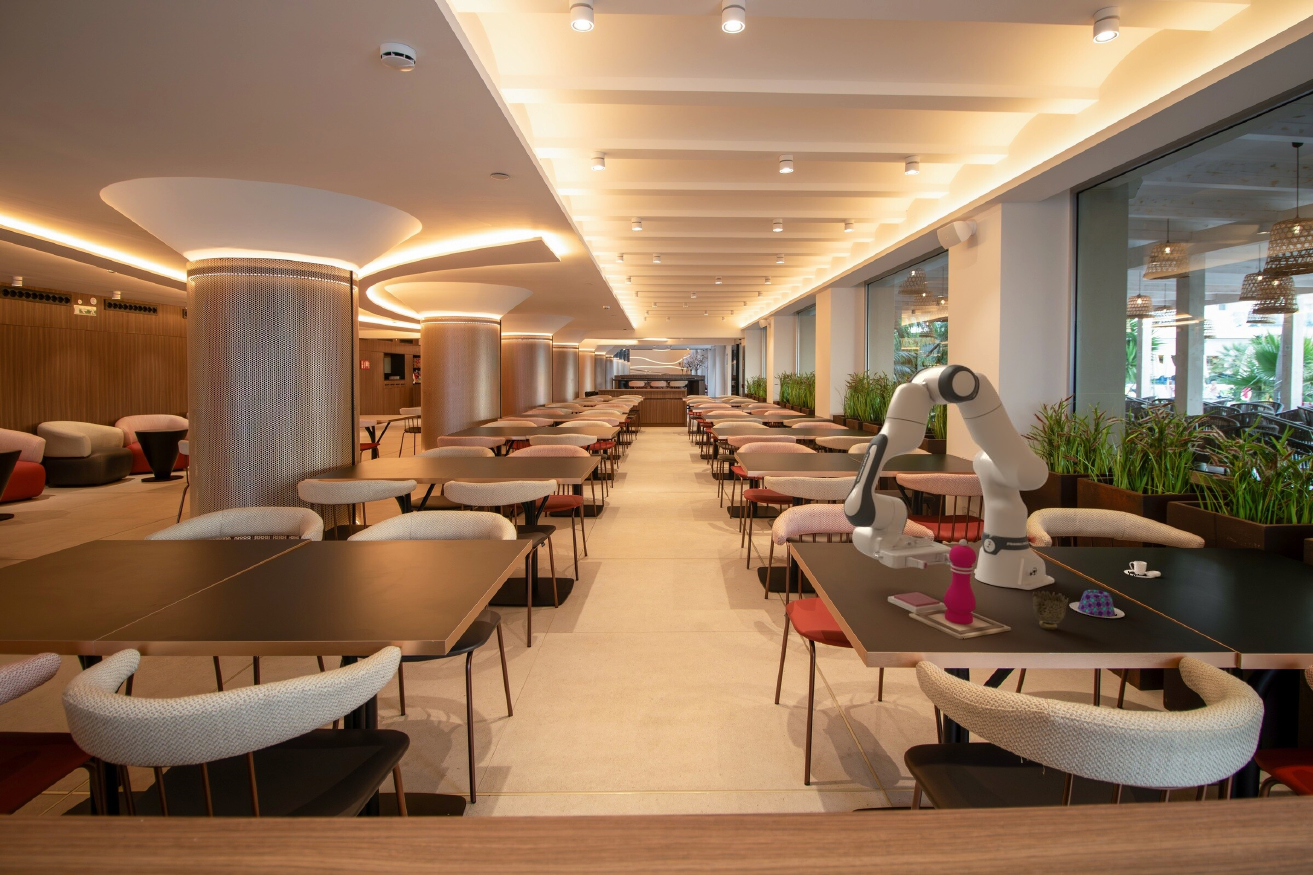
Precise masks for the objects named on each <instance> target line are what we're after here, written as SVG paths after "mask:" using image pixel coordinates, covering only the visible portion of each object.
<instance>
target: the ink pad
mask: <svg viewBox="0 0 1313 875" xmlns="http://www.w3.org/2000/svg"><path fill="white" fill-rule="evenodd" d="M887 602H889V603H891V604H893V605H896V606H897V607H900V608H903V609H905V610H907V611H908V612H911V613H918V612H924V611H931V610H937V609H944V608H947V607H946V606H945V605H944V602H941V601H940V600H938V599H936V598H933V597H931V596H928V595H926V594H923V593H921V592H918V591H914V592H909V593H901V594H893V595H891V596H887Z"/></svg>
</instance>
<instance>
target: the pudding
mask: <svg viewBox="0 0 1313 875" xmlns="http://www.w3.org/2000/svg"><path fill="white" fill-rule="evenodd" d="M1069 607H1070V608H1071V609H1073V610H1074V611H1077V612H1078V613H1081V614H1085V615H1089V616H1092V617H1095V616H1096V617H1097V618H1108V619H1118V618H1122V617H1125V613H1124V611H1122V610H1120V609H1118V608H1116V607H1114V602H1113V597H1112V595H1111V593H1108V592H1107V591H1103V590H1098V589H1088V590H1085V591H1084V592H1083V593H1082V596H1081V599H1080V601H1075V602H1071V603H1069ZM1116 614H1117V616H1115V615H1116Z"/></svg>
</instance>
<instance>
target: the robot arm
mask: <svg viewBox="0 0 1313 875" xmlns="http://www.w3.org/2000/svg"><path fill="white" fill-rule="evenodd" d="M950 404H955V405H956V406H957V408H958V410H959V413H960V415H961V417H962V420H963V421H964V424H965V425H966V428H967V431H968V433H969V434H970V437H971V439H972V440H973V442H974V443H975V444H976V445H977V446H979V448H981V450H979V451H978V452H976V454H975V456H974V457H973V460H972V468H973V471H974V473H975V474H976V476H977V478H978V480H979V483H980V487H981V491H982V496H983V502H984V503H983V504H984V520H983V521H984V522H983V523H984V524H983V530H982V532H981V539H980V540H981V544H982V545H981V547H980V548H979V553H978V559H977V565H976V568H975V569H973V573H974V574H975V575H974V578H975V579H976V580H977V581H979V582H982V583H985V584H989V585H992V586H996V587H1003V588H1012V589H1020V590H1027V591H1030V590H1035V589H1037V588H1040V587H1043V586H1048V585H1051V584H1054V583H1055V578H1053V577H1052V576H1050V575H1047V574H1046V564H1045V561H1044V559H1042V558H1041V557H1040V556H1039V555H1038V554H1037V553H1036V552H1035V551H1034V550H1032V548H1030V546H1031V545H1030V543H1031V544H1036V542H1037V536H1032V535H1028V536H1027V526H1028V524H1027V523H1028V508H1027V506H1026V504H1025V503H1024V501H1023V498H1022V497H1021V494H1020V491H1034V490H1038V489H1040V488H1041V487H1042V486H1044V485H1045V484H1046V482H1047V480H1048V477H1049V467H1048V464H1047V463H1046V462H1045V460H1044V459H1042V458H1041V457H1040V456H1039V455H1037V454H1036V453H1035V452H1034V451H1033V450H1032V449H1031V447H1030V446H1029V445H1028V444H1027V443H1026V441H1025V439H1023V437H1022V436H1021V435H1020V433H1019V432H1018V431H1017V429H1016V428H1015V427H1014V425H1013V423H1012V421H1011V419H1010V417H1009V414H1008V412H1007V410H1006V408H1005V406H1004V404H1003V401H1002V400H1001V398H1000V395H999V394H998V392H997V390H996V388H995V387H994V386H993V384H992V382H991V381H990V380H989V378H988V377H987V376H986V375H984V374H983V373H981V372H974V371H973V370H972V369H970V368H969V367H967V366H964V365H961V364H941V365H940V364H939V365H935V366H932V367H923V368H921V369H919V370H917V371H915V373H913V374H912V375H910V378H909V380H908V382H905V383H902V384H900V385H898V386H897V387H896V389H895V390H894V393H893V395H892V397H891V400H890V402H889V405H888V409H887V410H886V411H887V412H886V415H885V420H884V423H883V425H882V428H881V429H880V431H879V433H878V434H876V435H874V436H873V437H872V438H871V440H870V442H869V443H868V446H867V448H866V451H865V453H864V456H863V457H862V458H863V459H862V461H861V464H860V467H859V469H858V471H857V474H856V476H855V480H854V483H853V485H852V487H851V489H850V491H849V492H848V494H847V496H846V498H845V499H844V504H843V513H844V516H845V518H846V520H847V521H848V523H849V524H850V525H851V526H854V527H855V528H854V529H853V532H852V536H851V537H852V538H851V539H852V542H853V545H854V547H855V548H856V549H857V550H858V551H859V552H860V553H862V554H864V555H866V556H868V557H869V558H872V559H874V560H878V561H879V562H880V564H882V565H884V566H887V567H889V568H891V569H894V570H895V569H897V570H898V569H906V568H918V569H921V570H923V569H927V568H928V566H930V565H932V566H933V565H938V564H945V565H948V566H951V564H952V562H951V560H950V559H949V552H950V550H951V549H952V548H953V547H950V546H948V545H945V544H942V543H939V542H936V541H933V540H930V539H929V538H928V537H926V536H921V535H920V536H918V535H909V534H905V533H904V530H905V528H906V525H907V522H908V517H909V515H908V514H909V512H908V508H907V505H906V504H905V502H904V500H903V499H901V498H899V497H895V496H891V495H887V494H880V493H875V491H876V487H877V484H878V481H879V479H880V477H881V476H880V475H881V473H882V471H883V468H884V466H885V464H886V463H887V462H888V461H889V460H890V459H892V458H894V457H897V456H901V455H907V454H909V453H912V452H913V451H915V450H916V449H918V448H919V447H920V446H921V445H922V443H923V441H924V438H925V436H926V432H927V427H928V422H929V417H930V416H929V415H930V412H931V409H933V407H934V406H944V405H950Z"/></svg>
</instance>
